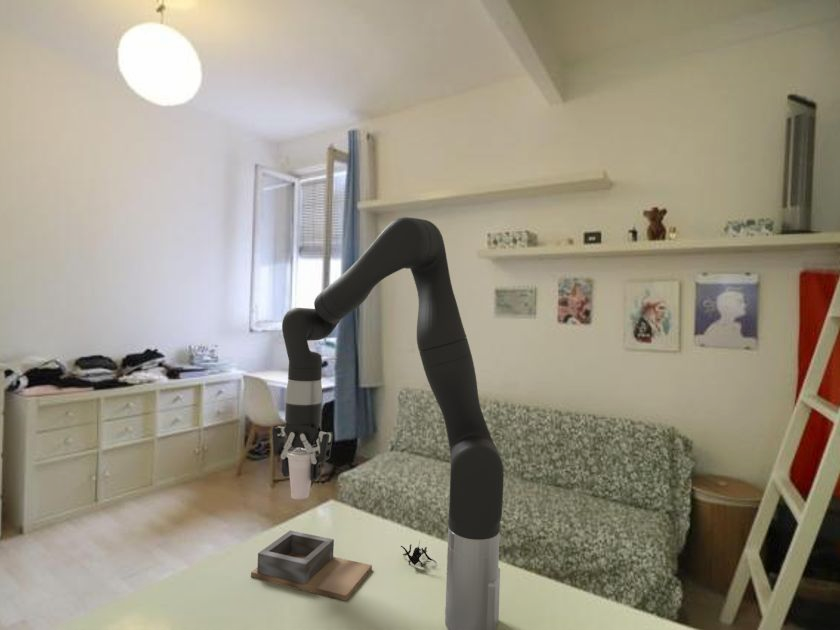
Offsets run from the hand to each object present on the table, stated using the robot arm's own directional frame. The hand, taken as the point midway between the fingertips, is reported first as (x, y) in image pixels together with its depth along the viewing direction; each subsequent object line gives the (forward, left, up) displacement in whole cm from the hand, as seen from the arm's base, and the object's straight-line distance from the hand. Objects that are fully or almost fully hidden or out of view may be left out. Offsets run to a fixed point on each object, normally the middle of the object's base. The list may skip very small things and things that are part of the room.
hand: (300, 477), depth 100 cm
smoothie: (0, 0, -4) cm, 4 cm away
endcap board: (-4, 0, -20) cm, 20 cm away
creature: (-23, -13, -20) cm, 33 cm away
